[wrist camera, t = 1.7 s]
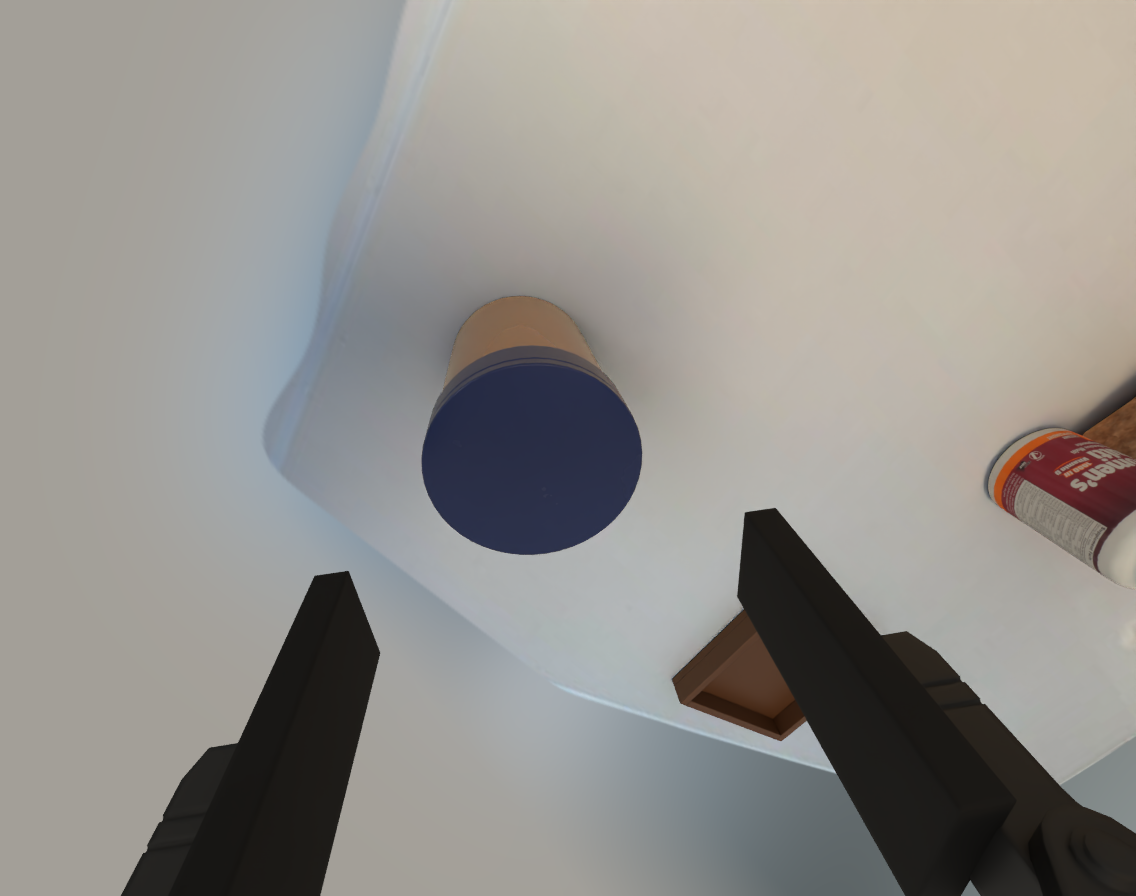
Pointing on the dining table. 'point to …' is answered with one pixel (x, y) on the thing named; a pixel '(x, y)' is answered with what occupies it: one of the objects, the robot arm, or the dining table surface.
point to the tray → (740, 683)
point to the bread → (1117, 430)
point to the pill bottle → (1073, 497)
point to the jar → (515, 331)
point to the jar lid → (530, 451)
